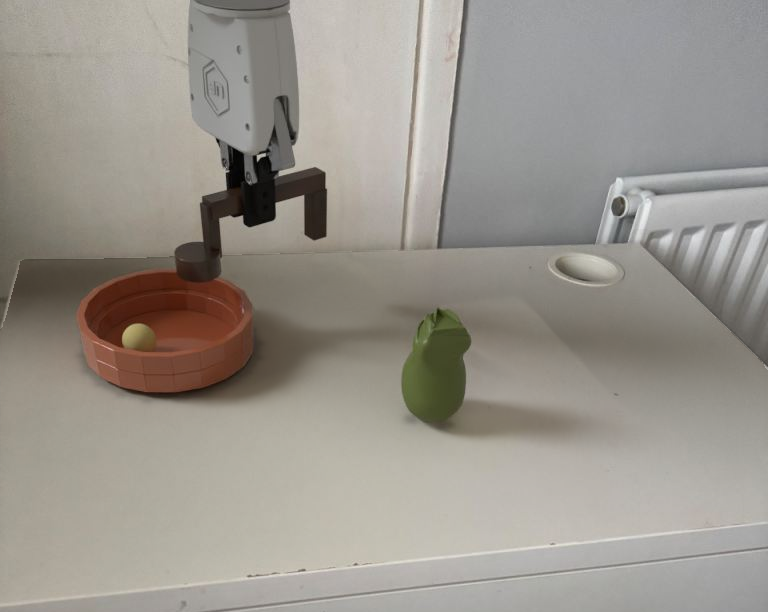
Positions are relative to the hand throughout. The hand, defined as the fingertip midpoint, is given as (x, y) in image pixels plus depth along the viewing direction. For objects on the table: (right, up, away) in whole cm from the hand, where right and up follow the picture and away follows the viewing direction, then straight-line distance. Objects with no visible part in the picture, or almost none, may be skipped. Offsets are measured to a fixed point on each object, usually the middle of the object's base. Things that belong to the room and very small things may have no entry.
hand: (252, 216), depth 76 cm
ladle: (0, -3, +3) cm, 4 cm away
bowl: (-8, -12, +2) cm, 14 cm away
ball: (-10, -11, 0) cm, 15 cm away
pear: (+16, -19, -2) cm, 25 cm away
